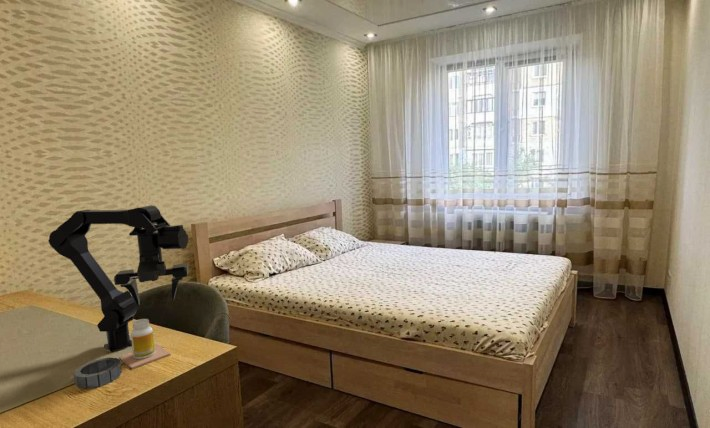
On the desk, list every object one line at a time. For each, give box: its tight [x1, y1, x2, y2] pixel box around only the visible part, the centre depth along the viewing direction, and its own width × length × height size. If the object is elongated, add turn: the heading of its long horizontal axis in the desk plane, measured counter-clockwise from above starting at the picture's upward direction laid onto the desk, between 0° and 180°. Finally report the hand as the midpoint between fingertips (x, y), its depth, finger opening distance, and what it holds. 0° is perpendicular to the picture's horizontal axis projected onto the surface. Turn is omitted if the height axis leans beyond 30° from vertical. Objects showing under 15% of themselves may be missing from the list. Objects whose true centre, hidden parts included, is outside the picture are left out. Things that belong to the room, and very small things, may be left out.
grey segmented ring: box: [73, 357, 123, 390], centre depth 102 cm, size 10×10×3 cm
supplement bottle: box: [130, 318, 155, 359], centre depth 113 cm, size 5×5×10 cm
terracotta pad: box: [118, 343, 172, 370], centre depth 113 cm, size 10×10×1 cm
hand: (156, 302), depth 119 cm, fingers open, 9 cm apart
